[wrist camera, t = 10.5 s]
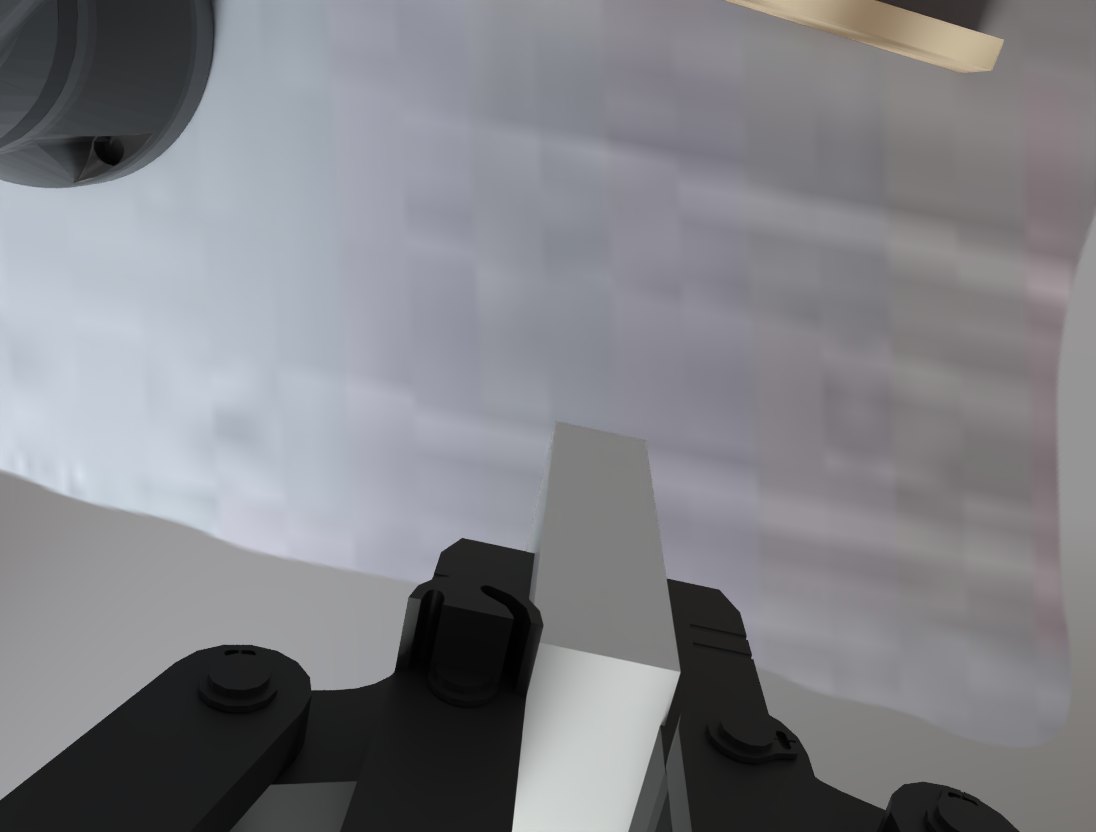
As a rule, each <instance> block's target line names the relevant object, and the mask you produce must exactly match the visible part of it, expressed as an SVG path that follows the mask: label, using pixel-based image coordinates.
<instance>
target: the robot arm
mask: <svg viewBox="0 0 1096 832" xmlns="http://www.w3.org/2000/svg"><path fill="white" fill-rule="evenodd" d="M212 48H213V20H212V9H211V3H210V0H0V180H3V181H7V182H11V183H15V184H20V185H25V186H32V187H41V188H70V187H77V186H84V185H90V184H97V183H102V182H107V181H111V180H115V179H118V178H121V177H124V176H126V175H128V174H131V173H133V172H135V171H137V170H139V169H141V168H143V167H144V166H146V165H147V164H149V163H151V162H152V161H153V160H155V159H156V158H157V157H159V156H160V155H161V154H162V153H163V152H165V151H166V150H167V149H168V148H169V147H170V146H171V145H172V144H173V143H174V142H175V141H176V139H177V138H178V137H179V136H180V134H181V133H182V132H183V131H184V129H185V128H186V126H187V125H188V123H189V122H190V120H191V118H192V116H193V115H194V113H195V111H196V109H197V107H198V104H199V102H200V100H201V97H202V95H203V92H204V89H205V86H206V82H207V79H208V75H209V70H210V65H211V57H212ZM751 656H752V653H751V650H750V646H749V643H748V640H746V632H745V629H744V625H743V621H742V618H741V614H740V612H739V611H738V610H737V609H736V608H735V607H734V605H733V604H732V603H731V602H730V601H729V600H728V599H727V598H726V597H725V595H724V594H723V593H722V592H721V591H720V590H718V589H713V588H709V587H704V586H699V585H695V584H690V583H685V582H681V581H676V580H671V579H667V578H666V572H665V565H664V559H663V552H662V545H661V539H660V532H659V525H658V519H657V512H656V506H655V499H654V492H653V486H652V479H651V472H650V466H649V459H648V452H647V446H646V440H641V439H637V438H632V437H628V436H623V435H618V434H614V433H609V432H604V431H600V430H595V429H590V428H586V427H581V426H577V425H572V424H567V423H563V422H558V421H555V426H554V430H553V434H552V439H551V443H550V448H549V452H548V456H547V461H546V465H545V469H544V474H543V478H542V483H541V487H540V491H539V496H538V500H537V505H536V509H535V513H534V518H533V522H532V527H531V531H530V535H529V540H528V544H527V549H526V551H521V550H516V549H512V548H507V547H502V546H498V545H493V544H488V543H483V542H479V541H474V540H469V539H465V538H461V539H460V540H459V541H457V542H456V543H454V544H453V545H451V546H450V547H448V548H447V549H445V550H444V551H442V552H441V554H440V557H439V560H438V563H437V566H436V569H435V572H434V577H433V578H432V580H430V581H427V582H425V583H423V584H420V585H419V586H417V588H416V589H415V590H414V591H413V592H412V594H411V595H410V596H409V598H408V603H407V609H406V614H405V619H404V625H403V630H402V636H401V642H400V646H399V652H398V657H397V663H396V668H395V672H394V673H393V674H392V675H391V676H390V677H388V678H386V679H383V680H382V681H379V682H377V683H375V684H372V685H368V686H364V687H360V688H356V689H345V690H313V691H311V684H310V677H309V676H308V675H307V673H306V672H305V671H304V670H303V668H302V667H301V666H300V665H299V663H298V662H296V661H294V660H292V659H291V658H289V657H287V656H285V655H283V654H282V653H280V652H278V651H275V650H271V649H266V648H262V647H258V646H253V645H221V646H217V647H212V648H208V649H203V650H199V651H196V652H194V653H193V654H191V655H189V656H187V657H185V658H183V659H181V660H179V661H178V662H176V663H174V664H173V665H172V666H170V667H169V668H168V669H167V670H165V671H164V672H163V673H162V674H160V675H159V676H158V677H156V678H155V679H154V680H153V681H151V682H150V683H149V684H148V685H147V686H145V687H144V688H142V689H141V690H140V691H139V692H137V693H136V694H135V695H134V696H132V697H131V698H130V699H129V700H127V701H126V702H125V703H123V704H122V705H121V706H120V707H118V708H117V709H116V710H115V711H113V712H112V713H111V714H109V715H108V716H107V717H106V718H104V719H103V720H102V721H101V722H99V723H98V724H97V725H95V726H94V727H93V728H92V729H90V730H89V731H88V732H87V733H85V734H84V735H83V736H81V737H80V738H79V739H78V740H76V741H75V742H74V743H73V744H71V745H70V746H69V747H67V748H66V749H65V750H64V751H62V752H61V753H60V754H59V755H57V756H56V757H55V758H54V759H52V760H51V761H50V762H48V763H47V764H46V765H45V766H43V767H42V768H41V769H40V770H38V771H37V772H36V773H34V774H33V775H32V776H31V777H29V778H28V779H27V780H26V781H24V782H23V783H22V784H20V785H19V786H18V787H17V788H15V789H14V790H13V791H12V792H10V793H9V794H8V795H6V796H5V797H4V798H3V799H1V800H0V832H1019V831H1018V830H1017V829H1016V828H1015V827H1014V826H1013V825H1012V824H1011V823H1010V822H1009V821H1008V820H1006V818H1004V817H1003V816H1002V815H1001V814H1000V813H998V812H997V811H995V810H994V809H992V808H991V807H989V806H988V805H986V804H984V803H983V802H981V801H980V800H979V799H978V798H976V797H974V796H972V795H970V794H967V793H965V792H964V793H963V792H961V791H960V790H957V789H954V788H951V787H949V786H944V785H938V784H933V783H927V782H918V783H911V784H904V785H902V786H901V787H900V788H899V789H898V790H897V791H895V792H894V793H893V794H892V796H891V798H890V801H889V803H888V806H887V808H886V810H883V809H881V808H879V807H876V806H874V805H872V804H869V803H867V802H864V801H862V800H860V799H858V798H855V797H853V796H851V795H848V794H846V793H844V792H841V791H839V790H837V789H836V788H834V787H832V786H830V785H828V784H826V783H824V782H822V781H820V780H819V779H817V778H816V777H815V776H814V772H813V770H812V767H811V763H810V760H809V757H808V754H807V752H806V751H805V749H804V747H803V745H802V744H801V743H800V740H799V739H798V737H797V736H796V735H795V734H793V733H792V732H791V731H790V730H789V729H788V728H787V727H786V726H785V725H784V724H782V723H781V722H780V721H779V720H777V719H775V718H773V717H772V716H770V715H769V714H768V710H767V706H766V703H765V699H764V696H763V692H762V689H761V685H760V682H759V678H758V675H757V671H756V667H755V664H754V660H753V659H751Z"/></svg>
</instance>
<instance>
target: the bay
mask: <svg viewBox="0 0 1096 832" xmlns="http://www.w3.org/2000/svg"><path fill="white" fill-rule="evenodd" d="M725 1H728V2H731V3H735V4H738V5H741V6H745V7H748V8H751V9H754V10H758V11H761V12H764V13H767V14H771V15H774V16H777V17H780V18H784V19H787V20H790V21H793V22H797V23H800V24H803V25H807V26H810V27H813V28H816V29H820V30H823V31H826V32H829V33H833V34H836V35H839V36H842V37H846V38H849V39H852V40H855V41H859V42H862V43H865V44H869V45H872V46H875V47H878V48H882V49H885V50H888V51H891V52H895V53H898V54H901V55H904V56H908V57H911V58H914V59H918V60H921V61H924V62H927V63H931V64H934V65H937V66H940V67H944V68H947V69H950V70H953V71H957V72H960V73H966V72H978V71H990V70H992V69H993V67H994V64H995V62H996V59H997V57H998V54H999V52H1000V49H1001V47H1002V45H1003V42H1004V40H1003V39H999V38H996V37H993V36H990V35H986V34H983V33H980V32H977V31H973V30H970V29H967V28H964V27H960V26H957V25H954V24H951V23H947V22H944V21H941V20H938V19H934V18H931V17H928V16H925V15H921V14H918V13H915V12H912V11H909V10H905V9H902V8H899V7H896V6H892V5H889V4H886V3H883V2H879V1H876V0H725Z"/></svg>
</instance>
